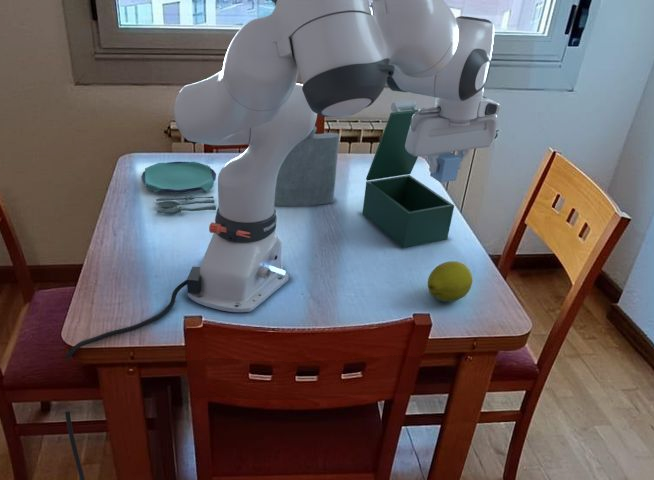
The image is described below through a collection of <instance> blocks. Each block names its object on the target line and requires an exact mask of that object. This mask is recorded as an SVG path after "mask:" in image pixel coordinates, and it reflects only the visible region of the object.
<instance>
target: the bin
mask: <svg viewBox="0 0 654 480" xmlns="http://www.w3.org/2000/svg"><path fill="white" fill-rule="evenodd" d="M454 209H455V204H453V203H452V202H451V201H449V200H448V199H446V198H444V197H443V196H441V195H440V194H438V193H437V192H435V191H434V190H432V189H431V188H430V187H428V186H427V185H425V184H424V183H422V182H421V181H419V180H418V179H416V178H415V177H413V176H412V175H411V174H408V175H401V176H395V177H388V178H382V179H375V180H369V181H367V180H366V182H365V189H364V197H363V206H362V216H364V217H365V218H366V219H367V220H369V221H370V222H371V223H372V224H373V225H375V227H377V228H378V229H379V230H380V231H381V232H383V234H385V235H386V236H387V237H389V238H390V239H391V240H392V241H393V242H395V243H396V244H397V245H398V246H400V247H401V249H406V248H412V247H416V246H422V245H426V244H429V243H430V244H431V243H435V242H440V241H446V240H448V238H449V237H448V236H449V234H450V233H449V232H450V228H451V224H452V223H451V222H452V218H453V214H454Z"/></svg>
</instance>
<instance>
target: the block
mask: <svg viewBox="0 0 654 480" xmlns="http://www.w3.org/2000/svg"><path fill="white" fill-rule="evenodd" d="M456 155H457V154H455V153H453V152H447V153H440V154H439V156H438V158H436V161H437V163H438V164H439V165H440V169H439V170H440V171H439V172H438V173H431V172H429V173H430V174H429V176H430V177H431V178H433V179H434V180H436V181H437V182H438V183H441V184H442V183H443V184H444V183H447V182H448V183H449V182H455V181H457V177H458V172H459V170H460V169H459V164H460V159H461V158H460V157H458V156H456ZM458 169H459V170H458Z"/></svg>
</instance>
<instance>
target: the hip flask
mask: <svg viewBox="0 0 654 480" xmlns="http://www.w3.org/2000/svg"><path fill="white" fill-rule="evenodd" d="M316 132H317V126H316V125H315V126H314V128H313V130H312V131H311V133H310V134H309V135H308V136H307V138H305V139H304V140H302V141H301V142H300V143H298V144H297V145H296V146H295V147H294V148H293V149H292V150H291V151H290V152H289V154H288V155H287V156H286V158H285V159H284V161H283V163H282V165H281V167H280V169H279V172H278V175H277V181H276V189H275V202H274V206H276V207H308V206H309V207H310V206H320V205H326V204H332V203H334V199H335V189H336V179H337V178H336V177H337V167H338V158H339V157H338V155H339V147H340V146H339V145H340V134H339V133H338V132H324V133H316Z"/></svg>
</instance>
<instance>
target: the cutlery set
mask: <svg viewBox="0 0 654 480" xmlns="http://www.w3.org/2000/svg"><path fill="white" fill-rule="evenodd" d="M140 178H141V180H142V183H143V184H145V187H146V188H147V189H148V190H151V191H154V192H156V193H158V192H159V191H161V192H168V193H188V192H189V193H190V192H195V191H198V190H205V191H206V192H208V193H209V191H210V190H211V189H212V188H213V187H214V184H215V183H214V182H215V181H216V179H217V173H216V172H215V170H214V169H212V168H211V166H210V165H208V164H205V163H201V162H198V161H170V162H157V163H154V164H152V165H150V166H147V167H145V168H144V171H143V172H142V174H141V176H140ZM195 199H196V201H193V200H195ZM197 199H198V200H197ZM199 199H205V200H199ZM155 201H156V202H157V203H155V206H156V207H159V208H163V209H156V214H180V213H182V212H202V211H217V206H216V205H207V206H201V207H181V206H186V205H198V204H215V199H214V195H211V196H192V195H189V196H187V195H185V197H182V196H181V197H180V196H179V197H160V198H156V199H155ZM178 201H185V202H181V203H180V202H178ZM188 201H189V202H188ZM178 206H179V207H178Z"/></svg>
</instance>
